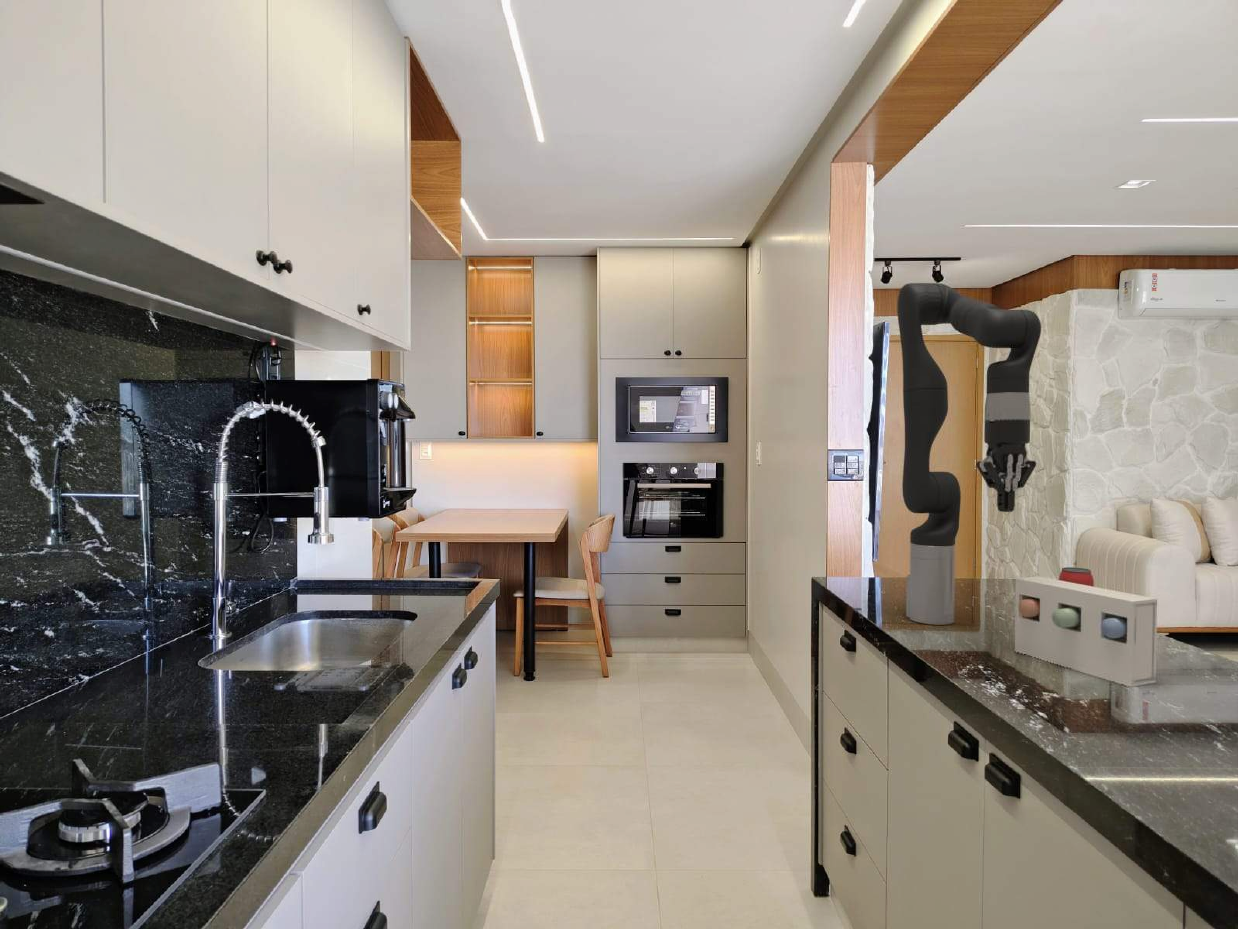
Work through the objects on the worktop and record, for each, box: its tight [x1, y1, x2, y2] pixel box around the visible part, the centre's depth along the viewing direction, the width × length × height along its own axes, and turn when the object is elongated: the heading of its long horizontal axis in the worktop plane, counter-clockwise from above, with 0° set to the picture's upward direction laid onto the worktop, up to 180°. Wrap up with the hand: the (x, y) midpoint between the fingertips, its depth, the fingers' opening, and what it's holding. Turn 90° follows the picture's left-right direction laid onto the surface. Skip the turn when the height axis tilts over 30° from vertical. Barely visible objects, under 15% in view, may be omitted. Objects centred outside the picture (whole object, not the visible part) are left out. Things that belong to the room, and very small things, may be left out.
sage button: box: [1052, 608, 1081, 628], centre depth 131 cm, size 3×4×3 cm
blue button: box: [1101, 617, 1127, 638], centre depth 124 cm, size 3×4×3 cm
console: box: [1014, 575, 1158, 688], centre depth 133 cm, size 22×6×14 cm, turn 22°
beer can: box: [1058, 566, 1095, 587], centre depth 164 cm, size 7×7×12 cm
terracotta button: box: [1018, 598, 1040, 617], centre depth 139 cm, size 3×4×3 cm
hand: (1005, 511), depth 139 cm, fingers closed
